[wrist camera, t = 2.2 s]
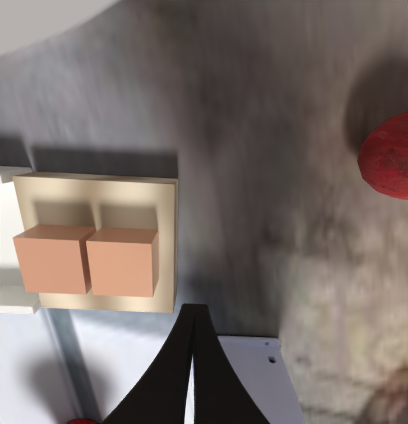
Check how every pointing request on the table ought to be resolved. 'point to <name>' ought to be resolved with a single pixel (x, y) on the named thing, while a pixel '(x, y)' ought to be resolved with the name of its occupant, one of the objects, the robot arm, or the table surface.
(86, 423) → the plastic cup
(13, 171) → the tray
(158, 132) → the table surface
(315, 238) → the table surface
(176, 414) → the robot arm
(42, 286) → the tile
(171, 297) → the board
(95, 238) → the tile
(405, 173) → the onion
